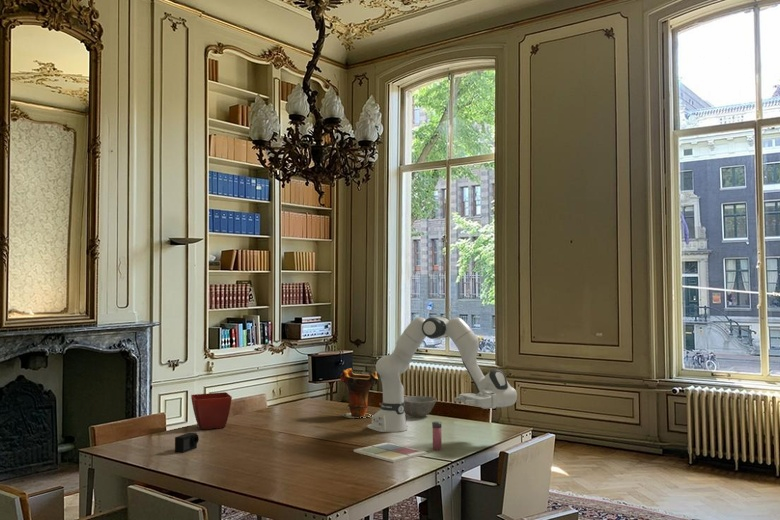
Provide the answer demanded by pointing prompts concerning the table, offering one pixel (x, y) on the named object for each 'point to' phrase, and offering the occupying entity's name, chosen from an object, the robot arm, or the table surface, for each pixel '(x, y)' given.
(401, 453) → the picture board
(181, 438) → the digital camera
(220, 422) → the plant pot
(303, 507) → the table surface
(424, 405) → the ceramic bowl
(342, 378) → the decorative vase
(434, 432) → the marker
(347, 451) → the table surface
